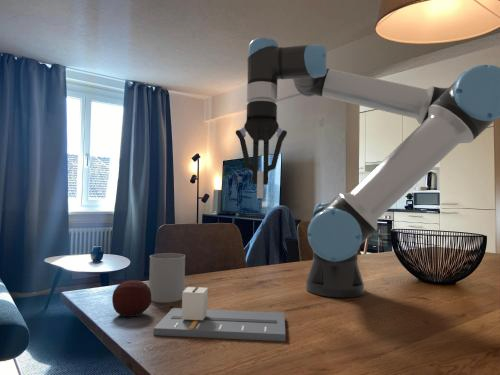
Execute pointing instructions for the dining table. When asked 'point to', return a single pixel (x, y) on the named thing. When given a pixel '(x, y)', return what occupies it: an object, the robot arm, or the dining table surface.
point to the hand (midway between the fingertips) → (260, 198)
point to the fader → (194, 303)
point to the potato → (131, 298)
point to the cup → (166, 277)
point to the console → (225, 325)
